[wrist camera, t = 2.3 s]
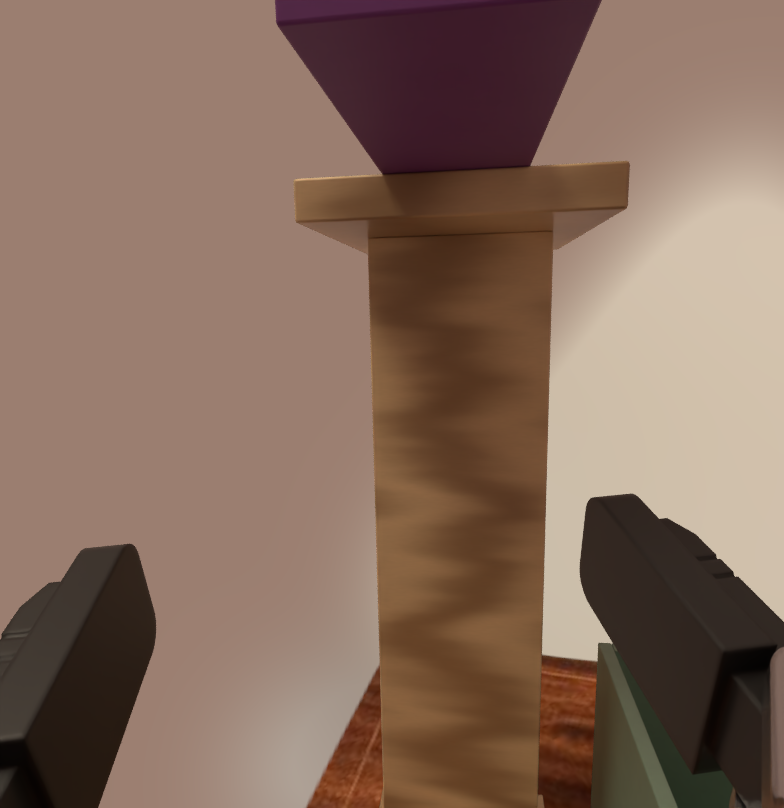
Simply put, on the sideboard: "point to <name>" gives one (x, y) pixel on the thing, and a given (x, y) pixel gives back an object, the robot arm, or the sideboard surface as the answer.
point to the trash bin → (641, 750)
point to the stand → (461, 456)
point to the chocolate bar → (441, 74)
